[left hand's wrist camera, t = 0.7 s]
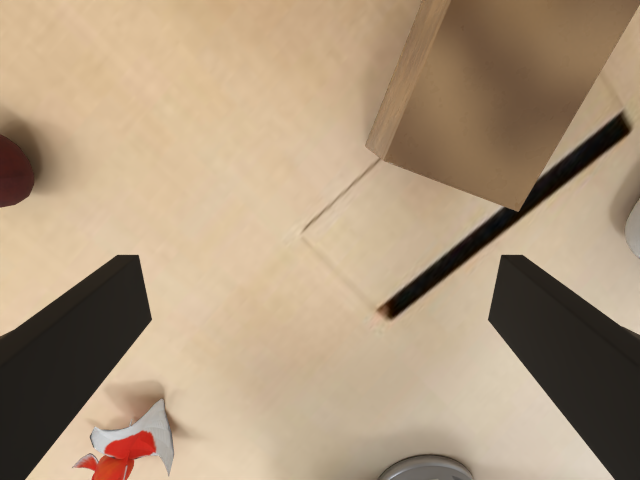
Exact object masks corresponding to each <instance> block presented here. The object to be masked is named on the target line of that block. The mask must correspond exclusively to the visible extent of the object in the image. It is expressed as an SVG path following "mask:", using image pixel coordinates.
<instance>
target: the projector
mask: <svg viewBox="0 0 640 480" xmlns="http://www.w3.org/2000/svg"><path fill="white" fill-rule="evenodd" d="M625 238H626V242H627V244H628V246H629V248H630V249H631V251H632V252H633V253H634V254H635V255H636V256H637V257H638V258H639V259H640V199H639V200H638V201H637V203H636V205H635V206H634V208H633V209H632V211H631V213H630V215H629V217H628V219H627V222H626V225H625Z"/></svg>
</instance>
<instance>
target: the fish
mask: <svg viewBox="0 0 640 480" xmlns="http://www.w3.org/2000/svg"><path fill="white" fill-rule="evenodd" d="M131 423H132V419H131V422H130V425H129V427H127V428H124V429H118V430H100V429H98V428H96V427H94V429H93V431H92V433H91V435H90V439H91V442H92V445H93V447H94V448H95V449H96V450H97V451H99V452H101V453H103V454H105V456H103V457H102V458H101V459H100V461H98V460H97V458H96V457H95V456H94V455H93V454H91V453H89V454H87V455H86V456H84V457H83V458H81V459H80V460H79V461H78V462H77V463H76V464H75V465H74V466H73V467H77V468H82V467H83V468H89V469H91V470H93V471H95V473H94V475H93V477H92V480H127V478H128V477H129V475H130V473H131V471H132V469H133V466H134V459H137V458H141V457H145V456H148V455H154V456H157V455H159V456H160V458H161V459H162V461H163V462H164V464H165V467H166V469H167V472H168V476H169V474H170V470H171V466H172V461H173V457H174V449H173V440H172V433H171V429H170V426H169V422H168V419H167V416H166V412H165V404H164V400H163V399H162V398H161V399H160V400H159V401H157V402H156V403H155V404H154V405H153V406H152V407H151V408H150V409H149V410H148V412H147V413H146V414H145V415H144V416H142V417H141V418H140V419H139V420H138V421H137V422H136V423H134V424H133V425H132V426H131ZM73 467H72V468H73Z"/></svg>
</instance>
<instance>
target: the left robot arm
mask: <svg viewBox="0 0 640 480" xmlns="http://www.w3.org/2000/svg"><path fill="white" fill-rule="evenodd" d="M151 320H152V318H151V313H150V308H149V303H148V298H147V293H146V289H145V284H144V279H143V274H142V269H141V264H140V259H139V255H117V256H115V257H114V258H113V259H111V260H110V261H108V262H107V263H106V264H104V265H103V266H102V267H100V268H99V269H97V270H96V271H95V272H93V273H92V274H90V275H89V276H88V277H86V278H85V279H84V280H82V281H81V282H79V283H78V284H77V285H75V286H74V287H73V288H71V289H70V290H68V291H67V292H66V293H64V294H63V295H62V296H60V297H59V298H57V299H56V300H55V301H53V302H52V303H51V304H49V305H48V306H46V307H45V308H44V309H42V310H41V311H39V312H38V313H37V314H35V315H34V316H33V317H31V318H30V319H28V320H27V321H26V322H24V323H23V324H22V325H20V326H19V327H17V328H16V329H15V330H13V331H11V332H9V333H7V334H4V335H2V336H0V480H25V479H26V478H27V477H28V475H29V474H30V473H31V472H32V470H33V469H34V468H35V467H36V465H37V464H38V463H39V461H40V460H41V459H42V458H43V456H44V455H45V454H46V453H47V451H48V450H49V449H50V448H51V446H52V445H53V444H54V443H55V441H56V440H57V439H58V438H59V436H60V435H61V434H62V432H63V431H64V430H65V429H66V427H67V426H68V425H69V424H70V422H71V421H72V420H73V419H74V417H75V416H76V415H77V414H78V412H79V411H80V410H81V409H82V407H83V406H84V405H85V403H86V402H87V401H88V400H89V398H90V397H91V396H92V395H93V393H94V392H95V391H96V390H97V388H98V387H99V386H100V385H101V383H102V382H103V381H104V380H105V378H106V377H107V376H108V375H109V373H110V372H111V371H112V369H113V368H114V367H115V366H116V364H117V363H118V362H119V361H120V359H121V358H122V357H123V356H124V354H125V353H126V352H127V351H128V349H129V348H130V347H131V346H132V344H133V343H134V342H135V340H136V339H137V338H138V337H139V335H140V334H141V333H142V332H143V330H144V329H145V328H146V327H147V325H148V324H149V323H150V322H151ZM488 320H489V322H490V323H491V324H492V325H493V327H494V328H495V329H496V330H497V332H498V333H499V334H500V335H501V337H502V338H503V339H504V340H505V342H506V343H507V344H508V346H509V347H510V348H511V349H512V351H513V352H514V353H515V354H516V356H517V357H518V358H519V359H520V361H521V362H522V363H523V364H524V366H525V367H526V368H527V369H528V371H529V372H530V373H531V375H532V376H533V377H534V378H535V380H536V381H537V382H538V383H539V385H540V386H541V387H542V388H543V390H544V391H545V392H546V393H547V395H548V396H549V397H550V398H551V400H552V401H553V402H554V403H555V405H556V406H557V407H558V409H559V410H560V411H561V412H562V414H563V415H564V416H565V417H566V419H567V420H568V421H569V422H570V424H571V425H572V426H573V427H574V429H575V430H576V431H577V432H578V434H579V435H580V436H581V438H582V439H583V440H584V441H585V443H586V444H587V445H588V446H589V448H590V449H591V450H592V451H593V453H594V454H595V455H596V456H597V458H598V459H599V460H600V461H601V463H602V464H603V465H604V467H605V468H606V469H607V470H608V472H609V473H610V474H611V475H612V477H613V478H614V479H615V480H640V335H639V334H637V333H635V332H632V331H630V330H628V329H626V328H624V327H622V326H620V325H618V324H617V323H616V322H614V321H613V320H612V319H610V318H609V317H607V316H606V315H605V314H603V313H602V312H601V311H599V310H598V309H596V308H595V307H594V306H592V305H591V304H589V303H588V302H587V301H585V300H584V299H583V298H581V297H580V296H578V295H577V294H576V293H574V292H573V291H572V290H570V289H569V288H567V287H566V286H565V285H563V284H562V283H561V282H559V281H558V280H556V279H555V278H554V277H552V276H551V275H550V274H548V273H547V272H545V271H544V270H543V269H541V268H540V267H538V266H537V265H536V264H534V263H533V262H532V261H530V260H529V259H527V258H526V257H525V256H523V255H501V259H500V264H499V269H498V274H497V279H496V284H495V289H494V293H493V298H492V303H491V308H490V313H489V318H488ZM378 480H474V479H473V477H472V475H471V473H470V472H469V471H468V469H467V468H466V467H464V466H463V465H462V464H460V463H459V462H457V461H455V460H452V459H449V458H446V457H441V456H418V457H413V458H409V459H406V460H403V461H401V462H398V463H396V464H394V465H393V466H391V467H390V468H388V469H387V470H386V471H385V472H384V473H383V474H382V475H381V476H380V478H379V479H378Z"/></svg>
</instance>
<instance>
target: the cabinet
mask: <svg viewBox="0 0 640 480" xmlns="http://www.w3.org/2000/svg"><path fill="white" fill-rule="evenodd" d="M639 5H640V0H423V1H422V3H421V6H420V8H419V11H418V14H417V16H416V19H415V21H414V24H413V26H412V29H411V31H410V34H409V36H408V39H407V41H406V44H405V46H404V49H403V52H402V54H401V57H400V59H399V62H398V64H397V67H396V69H395V72H394V74H393V77H392V79H391V82H390V84H389V87H388V89H387V92H386V95H385V97H384V100H383V102H382V105H381V107H380V110H379V112H378V115H377V117H376V120H375V122H374V125H373V127H372V130H371V132H370V135H369V138H368V140H367V143H366V145H365V146H366V147H367V148H368V149H369V150H371V151H372V152H373V153H374V154H376V155H377V156H378V157H380V158H381V159H382V160H383V161H385V162H388V163H391V164H393V165H396V166H398V167H401V168H404V169H406V170H409V171H412V172H414V173H417V174H420V175H422V176H425V177H428V178H430V179H433V180H436V181H438V182H441V183H444V184H446V185H449V186H452V187H454V188H457V189H460V190H462V191H465V192H467V193H470V194H473V195H475V196H478V197H481V198H483V199H486V200H489V201H491V202H494V203H497V204H499V205H502V206H505V207H507V208H510V209H513V210H515V211H519V210H520V208H521V206H522V205H523V203H524V201H525V200H526V198H527V196H528V194H529V193H530V191H531V189H532V188H533V186H534V184H535V183H536V181H537V179H538V177H539V176H540V174H541V172H542V171H543V169H544V167H545V165H546V164H547V162H548V160H549V159H550V157H551V155H552V153H553V152H554V150H555V148H556V147H557V145H558V143H559V141H560V140H561V138H562V136H563V135H564V133H565V131H566V130H567V128H568V126H569V124H570V123H571V121H572V119H573V118H574V116H575V114H576V112H577V111H578V109H579V107H580V106H581V104H582V102H583V100H584V99H585V97H586V95H587V94H588V92H589V90H590V88H591V87H592V85H593V83H594V82H595V80H596V78H597V77H598V75H599V73H600V71H601V70H602V68H603V66H604V65H605V63H606V61H607V59H608V58H609V56H610V54H611V53H612V51H613V49H614V47H615V46H616V44H617V42H618V41H619V39H620V37H621V36H622V34H623V32H624V30H625V29H626V27H627V25H628V24H629V22H630V20H631V18H632V17H633V15H634V13H635V12H636V10H637V8H638V6H639Z"/></svg>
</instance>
